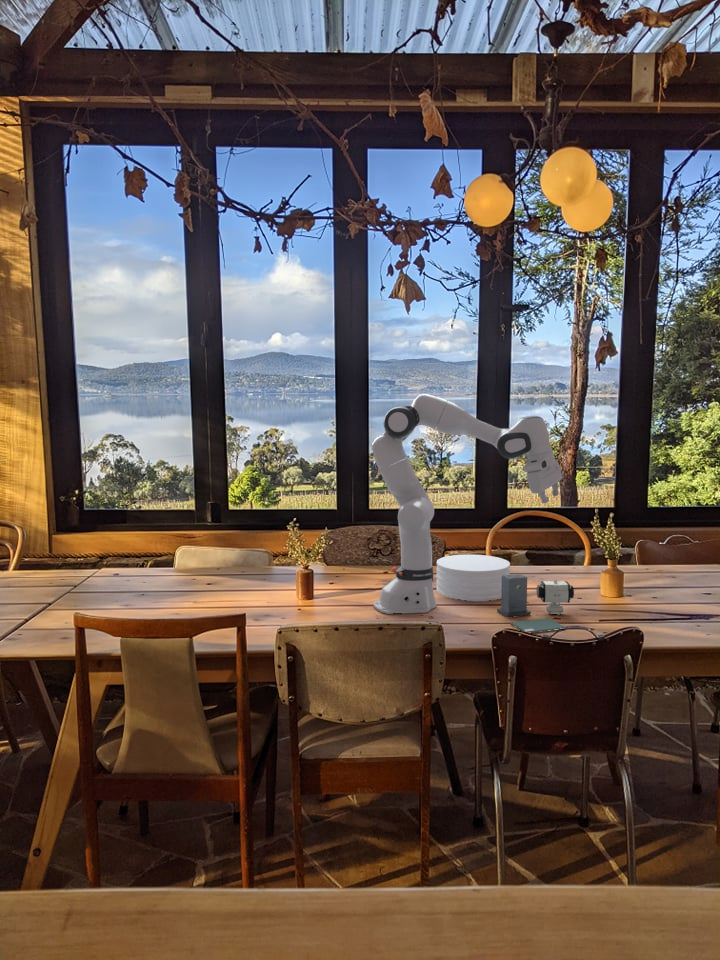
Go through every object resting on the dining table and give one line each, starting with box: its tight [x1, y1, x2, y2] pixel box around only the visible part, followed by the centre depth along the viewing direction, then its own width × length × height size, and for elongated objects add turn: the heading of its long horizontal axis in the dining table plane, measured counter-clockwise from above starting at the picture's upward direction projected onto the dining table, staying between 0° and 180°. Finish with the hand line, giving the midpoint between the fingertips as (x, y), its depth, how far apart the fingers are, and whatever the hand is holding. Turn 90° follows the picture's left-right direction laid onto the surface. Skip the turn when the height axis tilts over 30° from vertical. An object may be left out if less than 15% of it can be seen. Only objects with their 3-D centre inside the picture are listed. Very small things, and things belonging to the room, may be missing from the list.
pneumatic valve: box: [536, 579, 575, 616], centre depth 233 cm, size 6×12×12 cm, turn 86°
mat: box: [510, 617, 565, 634], centre depth 220 cm, size 14×10×1 cm
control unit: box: [496, 573, 532, 618], centre depth 233 cm, size 9×7×13 cm
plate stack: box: [436, 554, 511, 602], centre depth 263 cm, size 28×28×12 cm
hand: (550, 499), depth 236 cm, fingers open, 8 cm apart
